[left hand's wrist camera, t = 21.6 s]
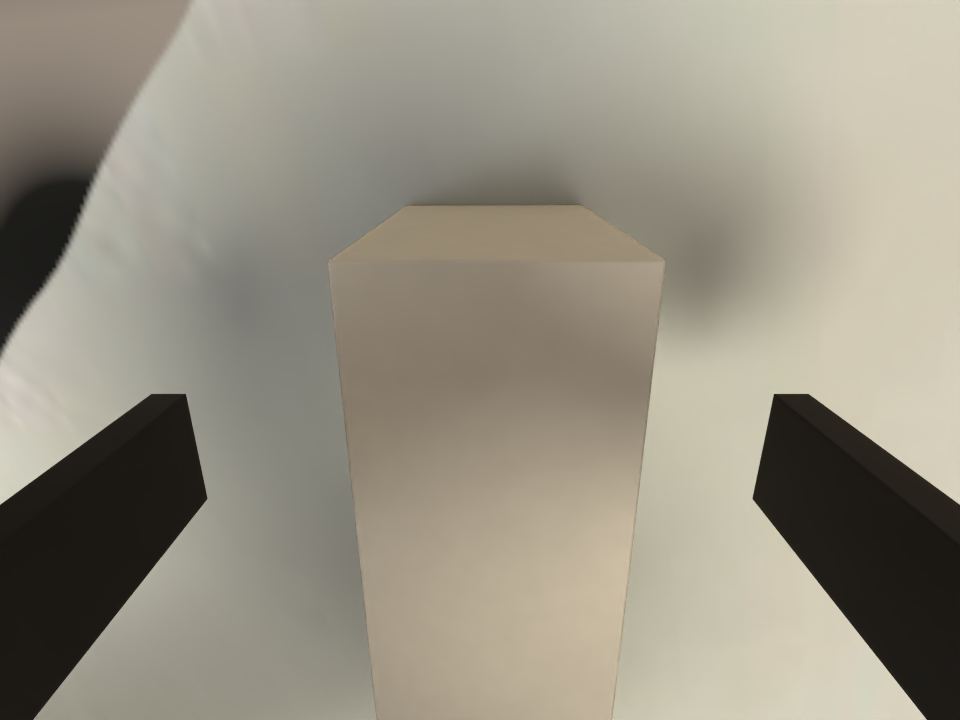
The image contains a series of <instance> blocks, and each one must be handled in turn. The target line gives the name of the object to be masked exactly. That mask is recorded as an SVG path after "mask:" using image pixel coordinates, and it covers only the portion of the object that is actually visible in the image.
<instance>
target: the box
mask: <svg viewBox="0 0 960 720" xmlns="http://www.w3.org/2000/svg"><path fill="white" fill-rule="evenodd" d="M665 264H666V262H665V260H664V259H662V258H661V257H659V256H658V255H656V254H655V253H653V252H652V251H650V250H649V249H647V248H646V247H644V246H643V245H641V244H640V243H638V242H637V241H635V240H634V239H632V238H631V237H629V236H628V235H626V234H625V233H623V232H622V231H620V230H619V229H617V228H616V227H614V226H613V225H611V224H610V223H608V222H607V221H605V220H603V219H602V218H600V217H599V216H597V215H596V214H594V213H593V212H591V211H590V210H588V209H587V208H585V207H584V206H582V205H460V206H405V207H404V208H402V209H401V210H399V211H398V212H397V213H395V214H394V215H392V216H391V217H389V218H388V219H387V220H385V221H384V222H382V223H381V224H380V225H378V226H377V227H375V228H374V229H373V230H371V231H370V232H368V233H367V234H366V235H364V236H363V237H361V238H360V239H358V240H357V241H356V242H354V243H353V244H351V245H350V246H349V247H347V248H346V249H344V250H343V251H342V252H340V253H339V254H337V255H336V256H335V257H333V258H332V259H330V260H329V261H328V272H329V281H330V291H331V300H332V309H333V318H334V328H335V337H336V346H337V356H338V365H339V374H340V383H341V393H342V402H343V411H344V421H345V430H346V439H347V449H348V458H349V467H350V476H351V486H352V495H353V504H354V514H355V523H356V532H357V542H358V551H359V560H360V569H361V579H362V588H363V597H364V607H365V616H366V625H367V634H368V644H369V653H370V662H371V672H372V681H373V690H374V700H375V709H376V718H377V720H612V715H613V707H614V698H615V690H616V681H617V673H618V664H619V656H620V647H621V639H622V630H623V622H624V613H625V605H626V596H627V587H628V579H629V570H630V562H631V553H632V545H633V536H634V528H635V519H636V511H637V502H638V494H639V485H640V477H641V468H642V460H643V451H644V443H645V434H646V426H647V417H648V409H649V400H650V392H651V383H652V375H653V366H654V358H655V349H656V341H657V332H658V324H659V315H660V307H661V298H662V290H663V281H664V273H665Z"/></svg>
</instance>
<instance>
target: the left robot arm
mask: <svg viewBox="0 0 960 720" xmlns="http://www.w3.org/2000/svg"><path fill="white" fill-rule="evenodd" d="M206 500H207V494H206V489H205V484H204V480H203V475H202V470H201V465H200V460H199V455H198V451H197V446H196V441H195V436H194V431H193V426H192V421H191V417H190V412H189V407H188V402H187V397H186V394H151V395H150V396H148V397H147V398H145V399H144V400H143V401H141V402H140V403H139V404H137V405H136V406H135V407H133V408H132V409H130V410H129V411H128V412H126V413H125V414H124V415H122V416H121V417H120V418H118V419H117V420H115V421H114V422H113V423H111V424H110V425H109V426H107V427H106V428H105V429H103V430H102V431H100V432H99V433H98V434H96V435H95V436H94V437H92V438H91V439H89V440H88V441H87V442H85V443H84V444H83V445H81V446H80V447H79V448H77V449H76V450H74V451H73V452H72V453H70V454H69V455H68V456H66V457H65V458H64V459H62V460H61V461H59V462H58V463H57V464H55V465H54V466H53V467H51V468H50V469H49V470H47V471H46V472H44V473H43V474H42V475H40V476H39V477H38V478H36V479H35V480H34V481H32V482H31V483H29V484H28V485H27V486H25V487H24V488H23V489H21V490H20V491H19V492H17V493H16V494H14V495H13V496H12V497H10V498H9V499H8V500H6V501H5V502H3V503H2V504H1V505H0V720H33V719H34V718H35V717H36V715H37V714H38V713H39V712H40V710H41V709H42V708H43V706H44V705H45V704H46V703H47V701H48V700H49V699H50V698H51V696H52V695H53V694H54V693H55V691H56V690H57V689H58V687H59V686H60V685H61V684H62V682H63V681H64V680H65V679H66V677H67V676H68V675H69V674H70V672H71V671H72V670H73V668H74V667H75V666H76V665H77V663H78V662H79V661H80V660H81V658H82V657H83V656H84V655H85V653H86V652H87V651H88V649H89V648H90V647H91V646H92V644H93V643H94V642H95V641H96V639H97V638H98V637H99V636H100V634H101V633H102V632H103V630H104V629H105V628H106V627H107V625H108V624H109V623H110V622H111V620H112V619H113V618H114V617H115V615H116V614H117V613H118V611H119V610H120V609H121V608H122V606H123V605H124V604H125V603H126V601H127V600H128V599H129V598H130V596H131V595H132V594H133V592H134V591H135V590H136V589H137V587H138V586H139V585H140V584H141V582H142V581H143V580H144V578H145V577H146V576H147V575H148V573H149V572H150V571H151V570H152V568H153V567H154V566H155V565H156V563H157V562H158V561H159V559H160V558H161V557H162V556H163V554H164V553H165V552H166V551H167V549H168V548H169V547H170V546H171V544H172V543H173V542H174V540H175V539H176V538H177V537H178V535H179V534H180V533H181V532H182V530H183V529H184V528H185V527H186V525H187V524H188V523H189V521H190V520H191V519H192V518H193V516H194V515H195V514H196V513H197V511H198V510H199V509H200V508H201V506H202V505H203V504H204V502H205V501H206ZM753 500H754V501H755V502H756V504H757V505H758V506H759V508H760V509H761V510H762V511H763V513H764V514H765V515H766V516H767V518H768V519H769V520H770V521H771V523H772V524H773V525H774V527H775V528H776V529H777V530H778V532H779V533H780V534H781V535H782V537H783V538H784V539H785V540H786V542H787V543H788V544H789V546H790V547H791V548H792V549H793V551H794V552H795V553H796V554H797V556H798V557H799V558H800V559H801V561H802V562H803V563H804V565H805V566H806V567H807V568H808V570H809V571H810V572H811V573H812V575H813V576H814V577H815V578H816V580H817V581H818V582H819V584H820V585H821V586H822V587H823V589H824V590H825V591H826V592H827V594H828V595H829V596H830V598H831V599H832V600H833V601H834V603H835V604H836V605H837V606H838V608H839V609H840V610H841V611H842V613H843V614H844V615H845V617H846V618H847V619H848V620H849V622H850V623H851V624H852V625H853V627H854V628H855V629H856V630H857V632H858V633H859V634H860V636H861V637H862V638H863V639H864V641H865V642H866V643H867V644H868V646H869V647H870V648H871V649H872V651H873V652H874V653H875V655H876V656H877V657H878V658H879V660H880V661H881V662H882V663H883V665H884V666H885V667H886V668H887V670H888V671H889V672H890V674H891V675H892V676H893V677H894V679H895V680H896V681H897V682H898V684H899V685H900V686H901V687H902V689H903V690H904V691H905V693H906V694H907V695H908V696H909V698H910V699H911V700H912V701H913V703H914V704H915V705H916V706H917V708H918V709H919V710H920V712H921V713H922V714H923V715H924V717H925V718H926V719H927V720H960V505H959V504H958V503H957V502H955V501H954V500H952V499H951V498H950V497H948V496H947V495H946V494H944V493H943V492H941V491H940V490H939V489H937V488H936V487H935V486H933V485H932V484H931V483H929V482H928V481H926V480H925V479H924V478H922V477H921V476H920V475H918V474H917V473H916V472H914V471H913V470H911V469H910V468H909V467H907V466H906V465H905V464H903V463H902V462H901V461H899V460H898V459H896V458H895V457H894V456H892V455H891V454H890V453H888V452H887V451H886V450H884V449H883V448H881V447H880V446H879V445H877V444H876V443H875V442H873V441H872V440H871V439H869V438H868V437H866V436H865V435H864V434H862V433H861V432H860V431H858V430H857V429H855V428H854V427H853V426H851V425H850V424H849V423H847V422H846V421H845V420H843V419H842V418H840V417H839V416H838V415H836V414H835V413H834V412H832V411H831V410H830V409H828V408H827V407H825V406H824V405H823V404H821V403H820V402H819V401H817V400H816V399H815V398H813V397H812V396H810V395H809V394H774V397H773V402H772V407H771V412H770V417H769V421H768V426H767V431H766V436H765V441H764V446H763V451H762V455H761V460H760V465H759V470H758V475H757V480H756V484H755V489H754V494H753Z"/></svg>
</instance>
